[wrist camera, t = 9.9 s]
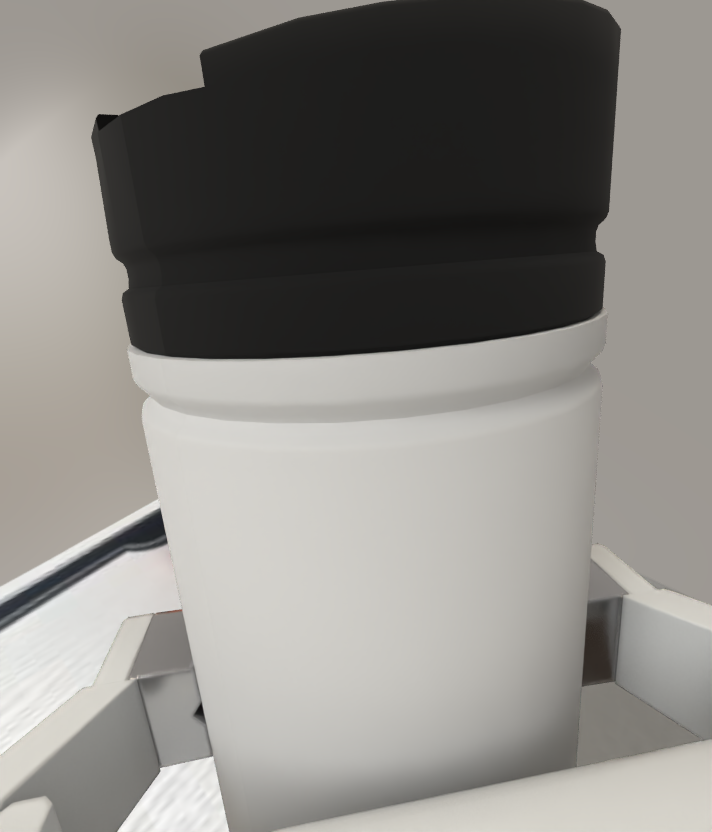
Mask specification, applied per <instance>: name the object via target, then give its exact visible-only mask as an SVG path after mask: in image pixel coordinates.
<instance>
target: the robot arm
mask: <svg viewBox="0 0 712 832" xmlns="http://www.w3.org/2000/svg"><path fill="white" fill-rule="evenodd" d="M613 681H616V682H615V684H617V685H618V686H620V687H621V688H623V689H625V690H626V691H628V692H629V693H631V694H632V695H634V696H635V697H637V698H638V699H640V700H642V701H643V702H645V703H646V704H648V705H649V706H651V707H652V708H654V709H656V710H657V711H659V712H660V713H662V714H663V715H665V716H666V717H668V718H669V719H671V720H673V721H674V722H676V723H677V724H679V725H680V726H682V727H683V728H685V729H687V730H688V731H690V732H691V733H693V734H694V735H696V736H697V737H699V738H700V739H702V740H703V741H698V742H693V743H689V744H684V745H679V746H674V747H670V748H665V749H660V750H655V751H650V752H646V753H641V754H636V755H631V756H627V757H622V758H617V759H612V760H607V761H603V762H598V763H593V764H588V765H584V766H579V767H574V768H569V769H564V770H560V771H555V772H550V773H545V774H540V775H536V776H531V777H526V778H521V779H516V780H512V781H507V782H502V783H497V784H493V785H488V786H483V787H478V788H473V789H469V790H464V791H459V792H454V793H449V794H445V795H440V796H435V797H430V798H425V799H421V800H416V801H411V802H406V803H401V804H397V805H392V806H387V807H382V808H378V809H373V810H368V811H363V812H359V813H354V814H349V815H344V816H340V817H335V818H330V819H326V820H321V821H316V822H311V823H307V824H302V825H297V826H292V827H288V828H283V829H278V830H273V831H269V832H712V605H710V604H708V603H705V602H702V601H699V600H696V599H693V598H690V597H688V596H685V595H682V594H679V593H676V592H673V591H670V590H668V589H659V590H657V589H656V588H655V587H653V586H652V585H651V584H650V583H649V582H647V581H646V580H645V579H644V578H643V577H641V576H640V575H639V574H638V573H637V572H635V571H634V570H633V569H632V568H631V567H629V566H628V565H627V564H626V563H625V562H623V561H622V560H621V559H620V558H619V557H617V556H616V555H615V554H614V553H613V552H611V551H610V550H609V549H608V548H607V547H606V546H604V545H601V544H598V543H597V544H592V545H591V559H590V574H589V588H588V602H587V617H586V631H585V646H584V660H583V674H582V686H588V685H594V684H601V683H607V682H613ZM212 756H213V752H212V748H211V743H210V738H209V733H208V729H207V724H206V719H205V715H204V710H203V705H202V701H201V696H200V691H199V686H198V682H197V677H196V672H195V668H194V663H193V658H192V653H191V649H190V644H189V639H188V635H187V630H186V625H185V620H184V616H183V611H182V609H181V610H174V611H167V612H159V613H156V614H154V613H152V614H146V615H139V616H133V617H128V618H127V619H125V620H124V621H123V622H122V624H121V627H120V629H119V631H118V633H117V635H116V637H115V639H114V641H113V643H112V645H111V648H110V650H109V652H108V654H107V656H106V658H105V660H104V662H103V664H102V666H101V669H100V671H99V673H98V675H97V677H96V679H95V681H94V683H93V685H92V686H90V687H84V688H82V689H81V690H80V691H78V692H77V693H76V694H75V695H74V696H72V697H71V698H70V699H69V700H67V701H66V702H65V703H64V704H63V705H61V706H60V707H59V708H58V709H56V710H55V711H54V712H53V713H52V714H50V715H49V716H48V717H47V718H45V719H44V720H43V721H42V722H41V723H39V724H38V725H37V726H36V727H34V728H33V729H32V730H31V731H30V732H28V733H27V734H26V735H25V736H23V737H22V738H21V739H20V740H19V741H17V742H16V743H15V744H14V745H12V746H11V747H10V748H9V749H8V750H6V751H5V752H4V753H3V754H1V755H0V832H117V831H118V829H119V828H120V827H121V825H122V824H123V822H124V821H125V820H126V818H127V817H128V816H129V814H130V813H131V811H132V810H133V809H134V807H135V806H136V804H137V803H138V802H139V800H140V799H141V798H142V796H143V795H144V793H145V792H146V791H147V789H148V788H149V786H150V785H151V784H152V782H153V781H154V780H155V778H156V777H157V775H158V774H159V773H160V768H162V767H167V766H171V765H176V764H180V763H185V762H189V761H194V760H199V759H203V758H208V757H212Z"/></svg>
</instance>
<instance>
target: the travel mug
mask: <svg viewBox="0 0 712 832" xmlns="http://www.w3.org/2000/svg"><path fill="white" fill-rule="evenodd" d="M620 35H621V29H620V27H619V25H618V24H617V22H616V21H615V20H614V18H613V17H612V15H611V14H610V13H609V11H608V10H606V9H603V8H601V7H599V6H596V5H594V4H591V3H589V2H586V1H584V0H396V1H386V2H379V3H374V4H369V5H363V6H358V7H353V8H348V9H342V10H337V11H332V12H327V13H321V14H316V15H311V16H306V17H301V18H297V19H294V20H291V21H288V22H285V23H282V24H279V25H276V26H273V27H270V28H267V29H264V30H261V31H258V32H255V33H253V34H250V35H247V36H244V37H241V38H238V39H235V40H232V41H229V42H226V43H223V44H220V45H217V46H214V47H212V48H209V49H205V50H203V51H202V53H201V54H200V60H201V66H202V72H203V78H204V85H205V87H202V88H197V89H192V90H188V91H183V92H178V93H174V94H168V95H163V96H161V97H159V98H157V99H154V100H152V101H150V102H147V103H145V104H143V105H141V106H139V107H137V108H134V109H132V110H130V111H128V112H125V113H123V114H121V115H119V116H118V115H104V114H102V115H101V114H99V115H98V116H97V118H96V120H95V124H94V128H93V132H92V137H91V138H92V143H93V147H94V152H95V156H96V161H97V167H98V173H99V180H100V186H101V192H102V198H103V204H104V210H105V216H106V222H107V229H108V234H109V241H110V245H111V250H112V253H113V255H114V257H115V258H116V259H117V260H118V261H120V262H122V263H123V264H124V266H125V267H126V269H127V273H128V278H129V289H128V290H127V291H125V292H124V293H123V296H122V303H123V308H124V312H125V317H126V322H127V326H128V331H129V336H130V340H131V344H129V346H128V349H127V351H128V356H129V361H130V366H131V371H132V375H133V379H134V380H135V383H136V385H137V386H139V387H140V388H141V389H142V390H144V391H145V392H146V393H147V394H149V395H150V396H149V397H148V399H147V400H146V401H145V402H144V404H143V410H142V423H143V427H144V432H145V437H146V441H147V446H148V451H149V456H150V460H151V465H152V470H153V474H154V479H155V484H156V489H157V493H158V498H159V503H160V507H161V512H162V517H163V522H164V526H165V531H166V536H167V540H168V545H169V550H170V555H171V559H172V564H173V569H174V573H175V578H176V583H177V587H178V592H179V597H180V602H181V606H182V611H183V616H184V620H185V625H186V630H187V635H188V639H189V644H190V649H191V653H192V658H193V663H194V668H195V672H196V677H197V682H198V686H199V691H200V696H201V701H202V705H203V710H204V715H205V719H206V724H207V729H208V733H209V738H210V743H211V748H212V752H213V757H214V762H215V766H216V771H217V776H218V781H219V785H220V790H221V795H222V799H223V804H224V809H225V814H226V818H227V823H228V828H229V832H269V831H273V830H278V829H283V828H288V827H292V826H297V825H302V824H307V823H311V822H316V821H321V820H326V819H330V818H335V817H340V816H344V815H349V814H354V813H359V812H363V811H368V810H373V809H378V808H382V807H387V806H392V805H397V804H401V803H406V802H411V801H416V800H421V799H425V798H430V797H435V796H440V795H445V794H449V793H454V792H459V791H464V790H469V789H473V788H478V787H483V786H488V785H493V784H497V783H502V782H507V781H512V780H516V779H521V778H526V777H531V776H536V775H540V774H545V773H550V772H555V771H560V770H564V769H569V768H574V767H576V761H577V746H578V732H579V718H580V703H581V689H582V674H583V660H584V646H585V631H586V617H587V602H588V588H589V574H590V559H591V545H592V530H593V516H594V502H595V487H596V473H597V459H598V458H597V457H598V444H599V430H600V414H601V401H602V387H603V386H602V381H601V376H600V373H599V370H598V369H597V368H596V367H595V366H593V365H592V364H591V361H593V360H594V359H595V357H597V356H598V355H599V354H600V352H602V351H603V349H604V346H605V343H606V328H607V314H608V313H607V311H606V309H605V308H604V307H603V291H604V277H605V258H604V255H603V254H601V253H599V252H597V251H596V243H595V238H596V230H597V228H598V225H599V224H600V223H601V222H602V221H603V220H604V219H605V218H606V217H607V214H608V212H609V202H610V186H611V185H610V184H611V171H612V155H613V141H614V126H615V111H616V96H617V80H618V66H619V50H620Z"/></svg>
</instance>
